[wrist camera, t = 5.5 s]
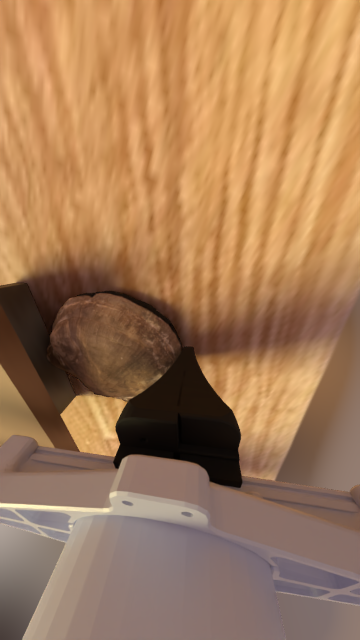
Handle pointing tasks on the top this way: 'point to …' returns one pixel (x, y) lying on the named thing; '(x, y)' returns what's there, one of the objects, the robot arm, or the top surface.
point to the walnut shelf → (30, 375)
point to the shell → (113, 343)
